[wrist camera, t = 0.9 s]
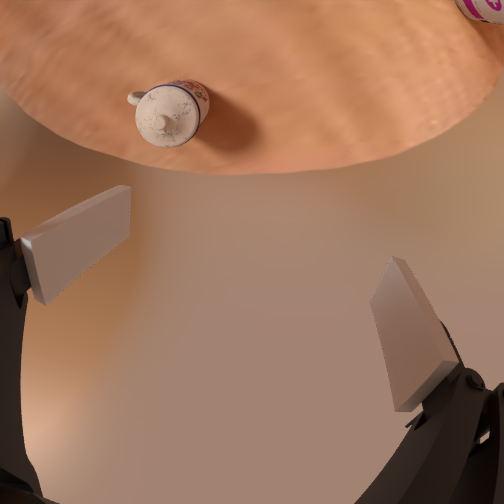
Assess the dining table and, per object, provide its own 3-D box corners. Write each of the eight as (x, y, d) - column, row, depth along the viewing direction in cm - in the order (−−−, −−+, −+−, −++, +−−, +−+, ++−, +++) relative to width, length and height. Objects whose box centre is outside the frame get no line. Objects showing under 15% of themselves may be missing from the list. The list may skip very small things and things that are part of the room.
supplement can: (450, 7, 19) (508, 11, 8) (450, -26, 14) (505, -29, 3) (481, 28, 19) (538, 41, 8) (482, -4, 14) (537, 2, 3)
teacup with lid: (221, 89, 36) (207, 104, 27) (198, 137, 41) (179, 166, 33) (153, 64, 32) (118, 73, 24) (135, 112, 38) (100, 136, 29)
